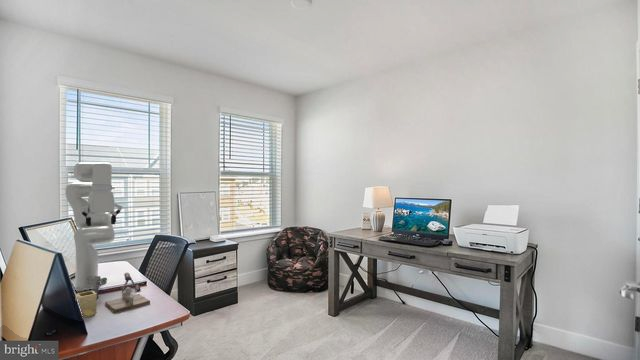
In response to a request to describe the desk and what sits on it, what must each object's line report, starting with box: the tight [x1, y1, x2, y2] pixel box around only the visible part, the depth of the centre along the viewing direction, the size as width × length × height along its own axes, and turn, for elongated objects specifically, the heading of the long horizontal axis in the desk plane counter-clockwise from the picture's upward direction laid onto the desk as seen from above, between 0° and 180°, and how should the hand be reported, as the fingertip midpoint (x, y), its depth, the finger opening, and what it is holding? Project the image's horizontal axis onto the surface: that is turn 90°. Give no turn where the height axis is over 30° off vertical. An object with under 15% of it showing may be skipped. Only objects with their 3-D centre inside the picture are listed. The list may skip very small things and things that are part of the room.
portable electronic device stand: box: [121, 272, 141, 294], centre depth 162 cm, size 9×8×8 cm
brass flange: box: [75, 290, 98, 319], centre depth 134 cm, size 12×6×8 cm, turn 50°
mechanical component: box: [86, 275, 108, 298], centre depth 151 cm, size 3×10×10 cm, turn 78°
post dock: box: [104, 287, 151, 314], centre depth 143 cm, size 13×14×8 cm
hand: (101, 225), depth 148 cm, fingers open, 9 cm apart
